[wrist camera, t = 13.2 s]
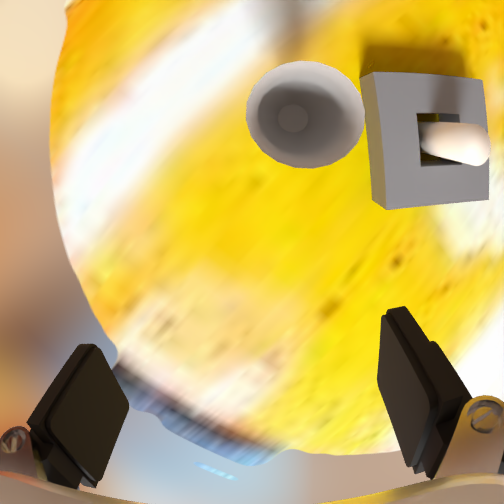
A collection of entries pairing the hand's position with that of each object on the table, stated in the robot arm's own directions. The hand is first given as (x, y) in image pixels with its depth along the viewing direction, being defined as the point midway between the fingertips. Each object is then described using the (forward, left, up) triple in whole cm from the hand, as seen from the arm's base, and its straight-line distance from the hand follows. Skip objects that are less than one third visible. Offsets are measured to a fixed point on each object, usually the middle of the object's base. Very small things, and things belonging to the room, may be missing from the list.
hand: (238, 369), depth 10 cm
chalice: (-8, +5, -30) cm, 31 cm away
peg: (-5, +22, -30) cm, 37 cm away
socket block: (-5, +22, -30) cm, 37 cm away
